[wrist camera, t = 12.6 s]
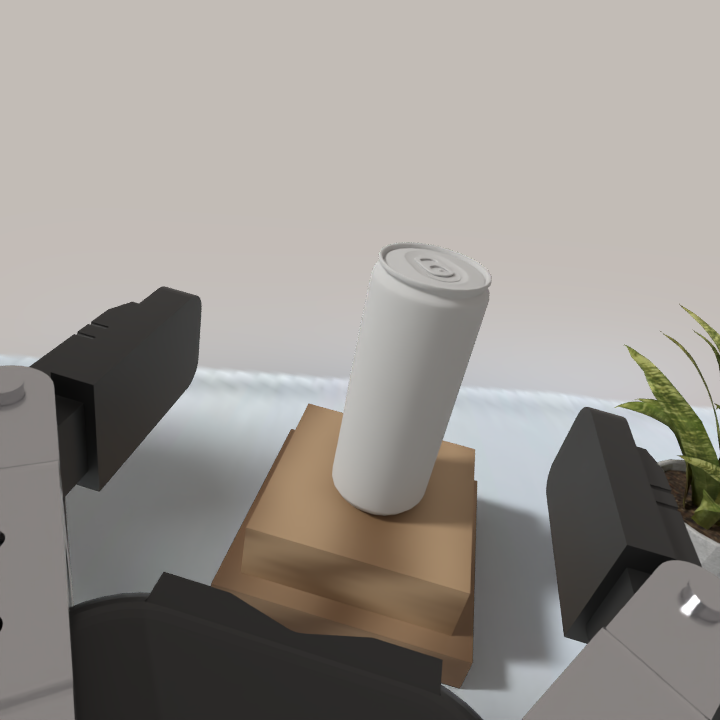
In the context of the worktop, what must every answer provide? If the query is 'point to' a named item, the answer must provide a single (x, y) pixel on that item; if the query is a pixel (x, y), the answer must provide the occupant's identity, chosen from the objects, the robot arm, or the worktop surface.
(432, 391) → the beverage can
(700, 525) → the house plant
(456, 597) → the stand
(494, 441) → the worktop surface
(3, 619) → the robot arm
